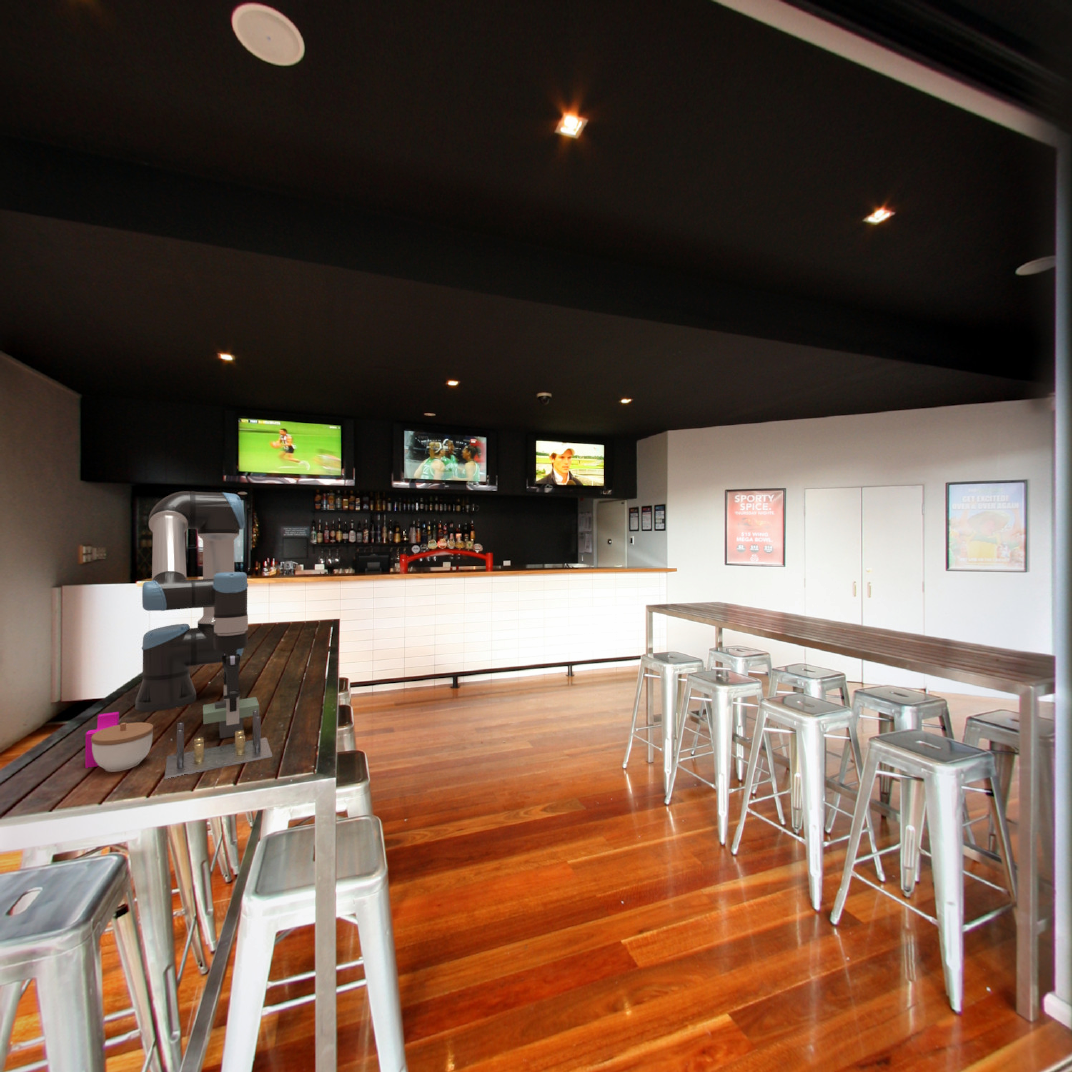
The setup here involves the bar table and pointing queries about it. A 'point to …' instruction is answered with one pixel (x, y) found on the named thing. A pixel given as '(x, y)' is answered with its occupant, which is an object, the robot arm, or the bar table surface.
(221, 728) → the dark grey cube
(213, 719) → the board
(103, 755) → the lidded jar
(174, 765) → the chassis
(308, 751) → the bar table surface
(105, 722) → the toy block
